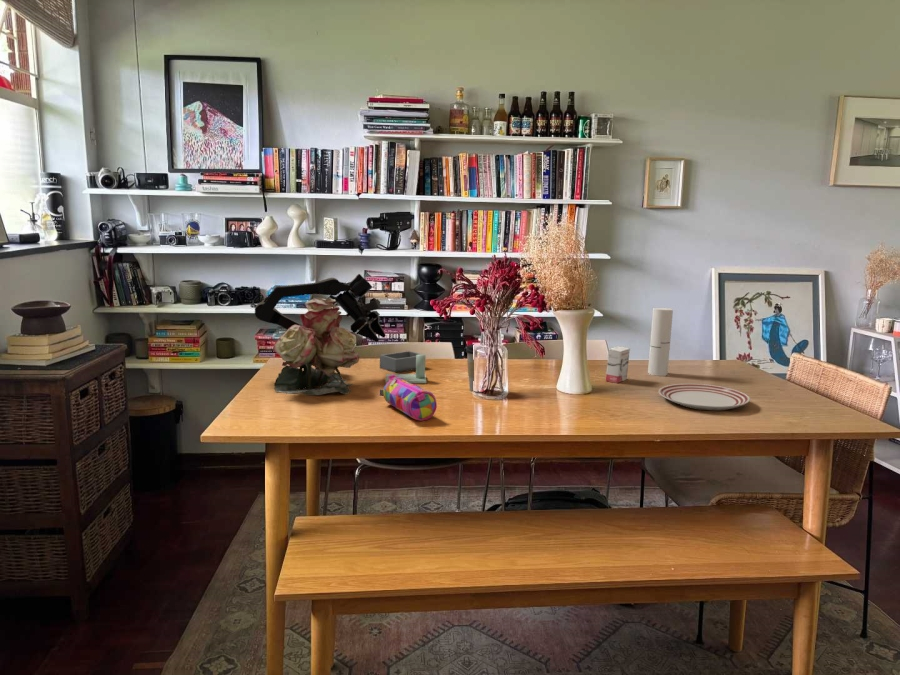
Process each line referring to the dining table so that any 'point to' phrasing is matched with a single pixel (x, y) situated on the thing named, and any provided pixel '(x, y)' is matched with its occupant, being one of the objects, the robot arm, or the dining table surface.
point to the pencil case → (409, 398)
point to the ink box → (617, 364)
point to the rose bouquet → (316, 351)
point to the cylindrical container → (660, 341)
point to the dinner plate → (704, 396)
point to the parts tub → (398, 361)
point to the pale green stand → (414, 378)
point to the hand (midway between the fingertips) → (381, 338)
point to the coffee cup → (470, 365)
